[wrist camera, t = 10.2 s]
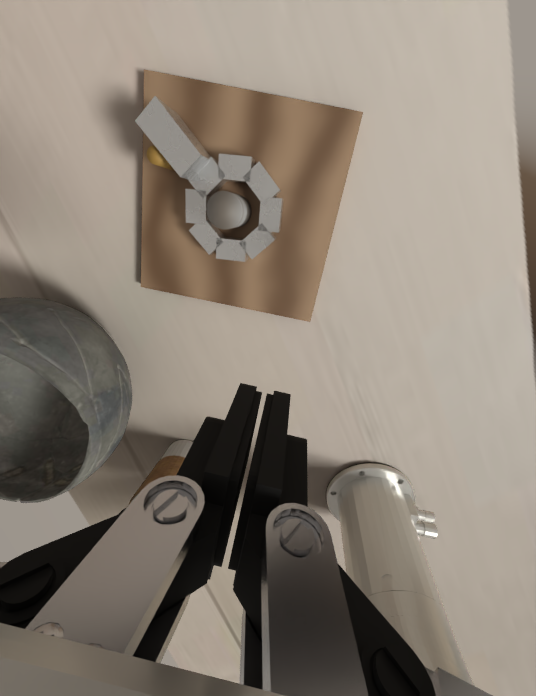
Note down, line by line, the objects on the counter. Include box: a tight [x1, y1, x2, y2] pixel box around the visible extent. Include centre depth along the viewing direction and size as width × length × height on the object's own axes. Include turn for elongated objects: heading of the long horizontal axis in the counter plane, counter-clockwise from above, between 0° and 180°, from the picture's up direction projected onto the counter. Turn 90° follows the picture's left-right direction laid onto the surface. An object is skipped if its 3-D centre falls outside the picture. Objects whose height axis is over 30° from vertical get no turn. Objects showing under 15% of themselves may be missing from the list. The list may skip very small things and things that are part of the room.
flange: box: [135, 96, 283, 262], centre depth 29 cm, size 9×14×5 cm, turn 40°
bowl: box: [0, 298, 132, 503], centre depth 35 cm, size 21×21×15 cm
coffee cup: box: [119, 440, 193, 514], centre depth 40 cm, size 8×8×15 cm
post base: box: [141, 70, 363, 322], centre depth 30 cm, size 20×20×7 cm
